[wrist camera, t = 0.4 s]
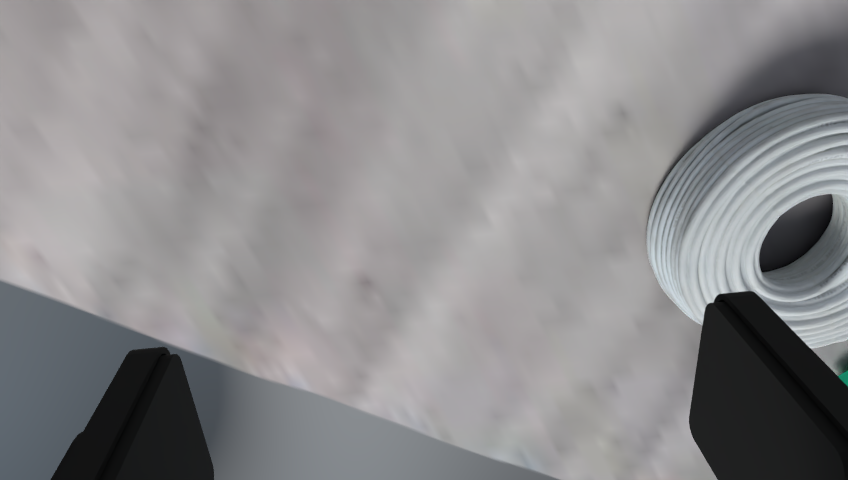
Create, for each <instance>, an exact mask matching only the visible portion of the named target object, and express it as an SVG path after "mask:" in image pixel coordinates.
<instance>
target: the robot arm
mask: <svg viewBox="0 0 848 480" xmlns="http://www.w3.org/2000/svg"><path fill="white" fill-rule="evenodd" d="M689 425H690V430H691V433H692V436H693V438H694V440H695V442H696V444H697V445H698V447H699V449H700V450H701V452H702V454H703V455H704V457H705V459H706V461H707V462H708V464H709V466H710V467H711V469H712V471H713V472H714V474H715V476H716V477H717V479H718V480H848V386H847V385H846V384H845V383H844V382H843V381H842V380H841V379H840V378H839V377H838V376H837V375H836V374H835V373H834V372H833V371H832V370H831V369H830V368H829V367H828V366H827V365H826V364H825V363H824V362H823V361H822V360H821V359H820V358H819V357H818V356H817V355H816V354H815V353H814V352H813V351H812V350H811V349H810V348H809V347H808V346H807V345H806V343H805V342H804V341H803V340H802V339H801V338H800V337H799V336H798V335H797V334H796V333H795V332H794V331H793V330H792V329H791V328H790V327H789V326H788V325H787V324H786V323H785V322H784V321H783V320H782V319H781V318H780V317H779V316H778V315H777V314H776V313H775V312H774V311H773V310H772V309H771V308H770V307H769V306H768V305H767V304H766V303H765V302H764V301H763V300H762V299H761V298H760V297H759V296H758V295H757V294H756V293H755V292H753V291H744V292H733V293H723V294H719V295H717V296H716V298H715V300H714V303H709V304H707V306H706V308H705V312H704V319H703V326H702V333H701V340H700V347H699V354H698V361H697V367H696V374H695V381H694V388H693V395H692V402H691V409H690V416H689ZM51 480H214V469H213V464H212V461H211V457H210V454H209V451H208V448H207V444H206V441H205V438H204V434H203V431H202V428H201V424H200V421H199V418H198V415H197V411H196V408H195V404H194V401H193V398H192V394H191V391H190V388H189V384H188V381H187V378H186V375H185V371H184V368H183V365H182V361H181V359H180V357H179V356H178V355H177V354H172V355H170V352H169V351H168V350H167V348H165V347H158V348H148V349H138V350H132V351H130V352H129V353H128V354H127V355H126V357H125V359H124V361H123V363H122V364H121V366H120V368H119V370H118V371H117V373H116V375H115V377H114V379H113V381H112V382H111V384H110V385H109V387H108V389H107V391H106V392H105V394H104V396H103V398H102V400H101V401H100V403H99V405H98V407H97V408H96V410H95V412H94V414H93V415H92V417H91V419H90V421H89V422H88V424H87V426H86V428H85V430H84V431H83V432H81V433H80V434H78V435H77V437H76V438H75V439H74V441H73V442H72V444H71V445H70V447H69V449H68V451H67V453H66V454H65V456H64V458H63V459H62V461H61V463H60V465H59V466H58V468H57V470H56V471H55V473H54V475H53V477H52V478H51Z"/></svg>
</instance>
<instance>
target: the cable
mask: <svg viewBox="0 0 848 480" xmlns="http://www.w3.org/2000/svg"><path fill="white" fill-rule="evenodd" d="M824 194H832V198H833V213H832V218H831V221H830V223H829V225H828V227H827V229H826V230H825V232H824V233H823V235H822V236H821V238H820V239H819V240H818V242H817V243H816V244H815V245H814V246H813V247H812V248H811V249H810V250H809V251H808V252H807V253H806V254H804V255H803V256H802V257H800V258H799V259H798V260H796V261H794V262H793V263H791V264H790V265H788V266H785V267H782V268H779V269H776V270H773V271H769V272H763V273H762V272H761V269H760V264H759V254H760V248H761V245H762V242H763V240H764V238H765V236H766V234H767V233H768V231H769V230H770V228H771V227H772V226H773V224H774V223H775V222H776V220H777V219H778V218H779V217H780V216H781V215H782V214H783V213H785V212H786V211H787V210H789V209H790V208H792V207H793V206H795V205H797V204H798V203H800V202H802V201H804V200H806V199H809V198H811V197H814V196H818V195H824ZM646 245H647V253H648V258H649V261H650V264H651V267H652V269H653V271H654V273H655V276H656V279H657V281H658V283H659V285H660V286H661V288H662V289H663V291H664V292H665V293H666V294H667V295H668V297H669V298H670V299H671V300H672V301H673V302H674V303H675V304H676V305H677V307H678V308H679V309H680V310H681V311H682V312H683V313H685V314H686V315H687V316H688V317H690V318H691V319H692V320H694V321H695V322H697V323H699V324H701V325H703V319H704V312H705V308H706V306H707V304H709V303H714V300H715V298H716V296H717V295H719V294H723V293H733V292H744V291H753V292H755V293H756V294H757V295H758V296H759V297H760V298H761V299H762V300H763V301H764V302H765V303H766V304H767V305H768V306H769V307H770V308H771V309H772V310H773V311H774V312H775V313H776V314H777V315H778V316H779V317H780V318H781V319H782V320H783V321H784V322H785V323H786V324H787V325H788V326H789V327H790V328H791V329H792V330H793V331H794V332H795V333H796V334H797V335H798V336H799V337H800V338H801V339H802V340H803V341H804V342H805V343H806V345H807V346H808V347H809V348H810V349H812V348H817V347H822V346H827V345H830V344H833V343H837V342H842V341H845V340H848V98H845V97H842V96H837V95H831V94H802V95H790V96H784V97H779V98H774V99H771V100H767V101H764V102H761V103H759V104H756V105H754V106H752V107H749V108H747V109H745V110H743V111H741V112H739V113H737V114H735V115H734V116H732V117H731V118H729V119H728V120H726V121H725V122H724V123H722V124H720V125H719V126H717V127H716V128H715V129H713V130H712V131H711V132H710V133H708V134H707V135H706V136H705V137H703V138H702V139H701V140H700V141H699V142H698V143H697V144H696V145H694V146H693V147H692V148H691V149H690V150H689V151H688V152H687V153H686V154H685V155H684V156H683V157H682V158H681V159H680V161H679V162H678V163H677V164H676V166H675V167H674V168H673V170H672V171H671V172H670V174H669V175H668V176H667V178H666V180H665V181H664V183H663V185H662V186H661V188H660V190H659V192H658V194H657V196H656V198H655V201H654V203H653V206H652V208H651V212H650V215H649V220H648V225H647V233H646Z"/></svg>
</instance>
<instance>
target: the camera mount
mask: <svg viewBox="0 0 848 480" xmlns="http://www.w3.org/2000/svg"><path fill="white" fill-rule="evenodd" d="M838 377H839V378H840V379H841V380H842V381H843V382H844V383H845V384H846V385H847V386H848V371H846V372H844V373H842V374H841V375H839V376H838Z"/></svg>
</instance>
